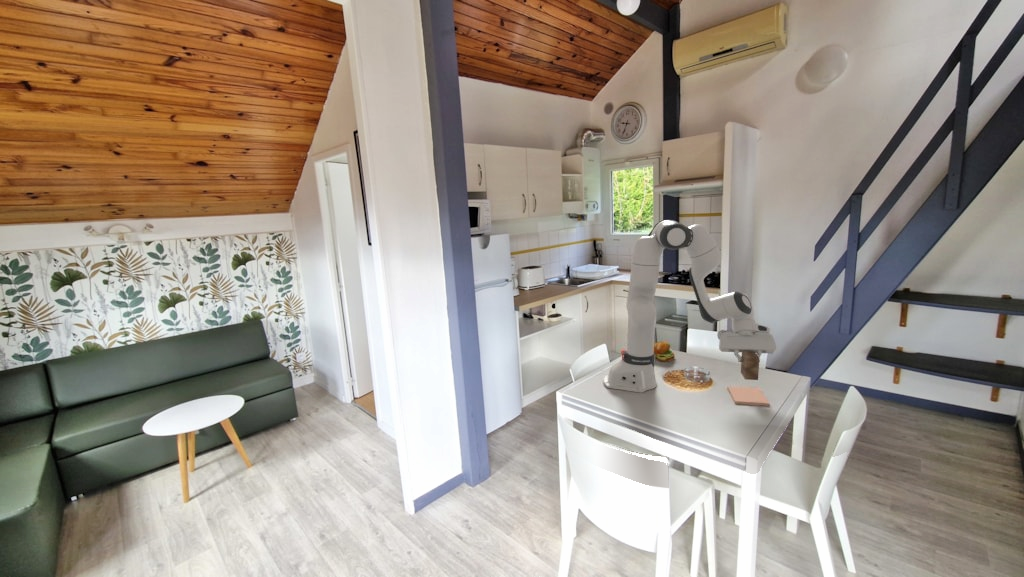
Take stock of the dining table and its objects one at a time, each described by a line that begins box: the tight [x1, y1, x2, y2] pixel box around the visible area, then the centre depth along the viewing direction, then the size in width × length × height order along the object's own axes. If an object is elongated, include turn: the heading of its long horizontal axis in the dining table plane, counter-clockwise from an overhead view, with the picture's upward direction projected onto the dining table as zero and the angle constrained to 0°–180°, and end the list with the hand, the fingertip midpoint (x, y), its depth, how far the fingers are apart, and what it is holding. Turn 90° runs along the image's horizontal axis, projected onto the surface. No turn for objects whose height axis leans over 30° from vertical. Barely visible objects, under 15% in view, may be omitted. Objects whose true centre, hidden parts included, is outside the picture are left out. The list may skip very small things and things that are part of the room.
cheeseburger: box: [654, 340, 676, 363], centre depth 214 cm, size 10×11×10 cm
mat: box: [726, 385, 771, 407], centre depth 172 cm, size 12×14×1 cm
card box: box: [740, 351, 760, 381], centre depth 170 cm, size 4×7×9 cm, turn 165°
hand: (749, 361), depth 171 cm, fingers closed on card box, 4 cm apart
